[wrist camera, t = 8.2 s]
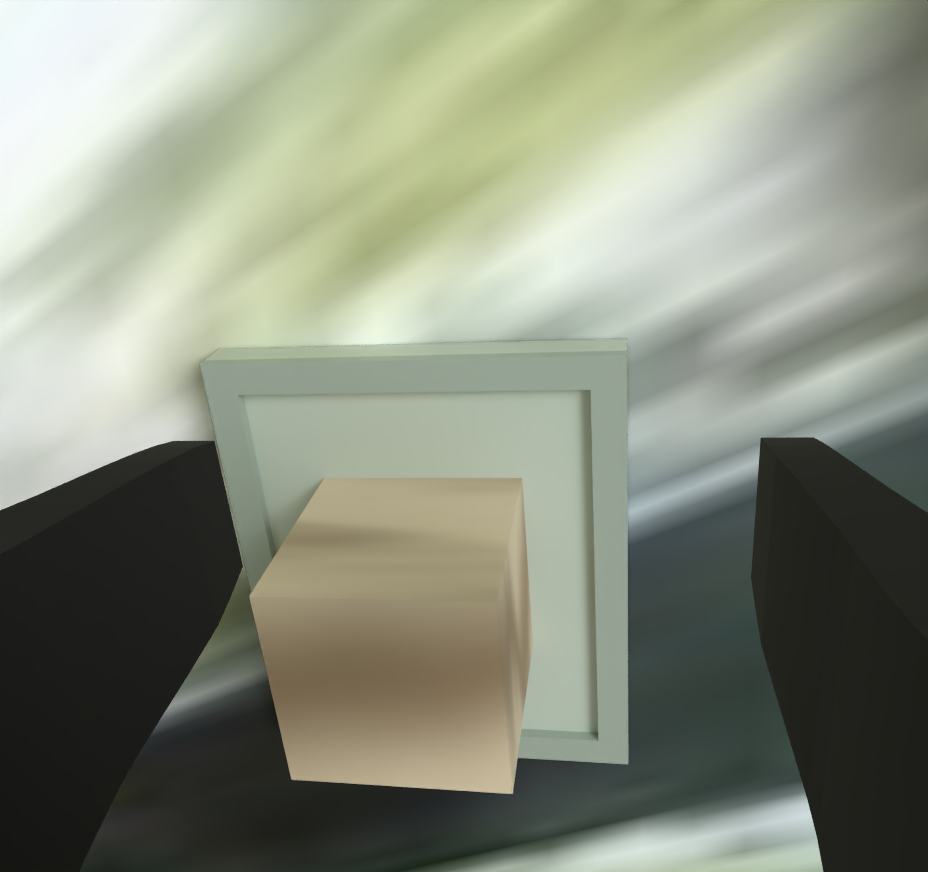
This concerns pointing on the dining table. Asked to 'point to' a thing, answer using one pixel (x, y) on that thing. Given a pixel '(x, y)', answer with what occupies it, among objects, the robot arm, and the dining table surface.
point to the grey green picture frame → (461, 456)
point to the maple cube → (401, 633)
